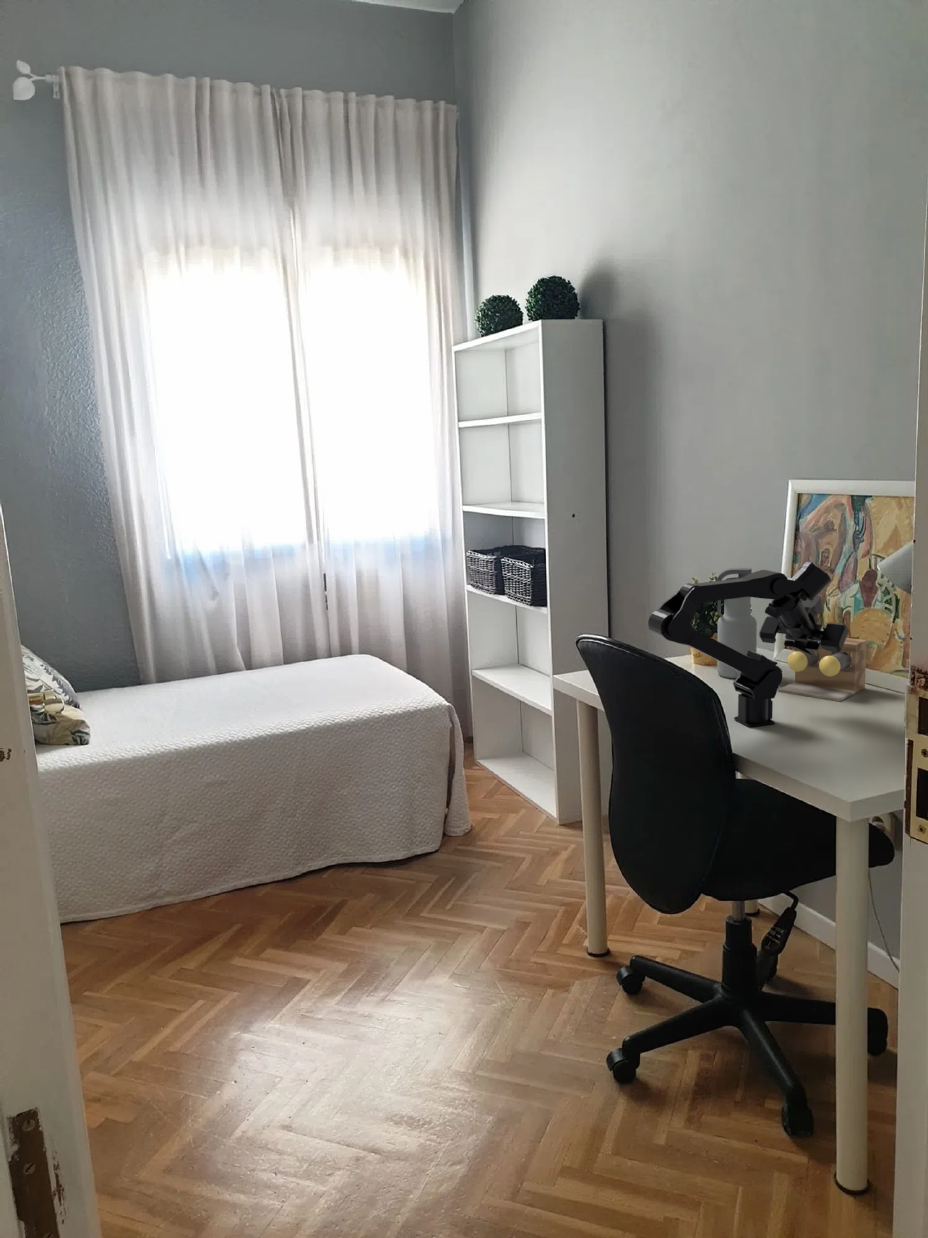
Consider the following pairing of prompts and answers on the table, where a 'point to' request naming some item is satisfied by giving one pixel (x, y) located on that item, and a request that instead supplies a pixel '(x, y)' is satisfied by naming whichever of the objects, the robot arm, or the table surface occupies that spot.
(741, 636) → the water bottle
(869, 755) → the table surface
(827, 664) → the knob right
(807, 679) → the console
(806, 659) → the knob left
